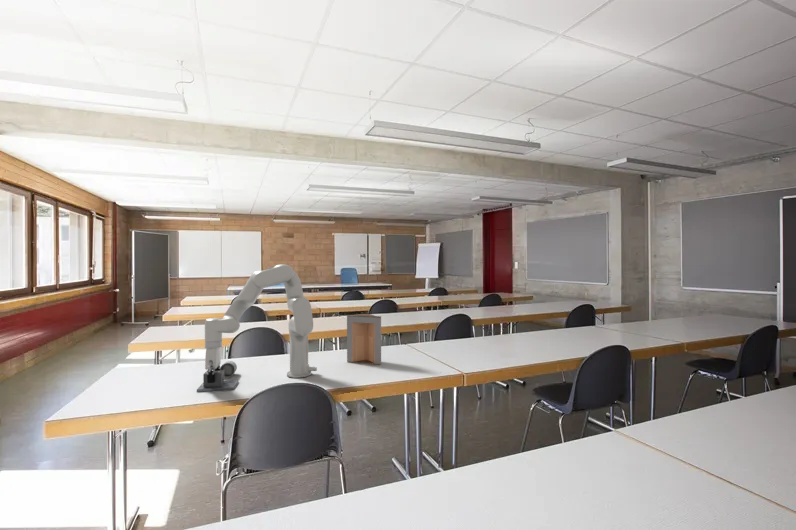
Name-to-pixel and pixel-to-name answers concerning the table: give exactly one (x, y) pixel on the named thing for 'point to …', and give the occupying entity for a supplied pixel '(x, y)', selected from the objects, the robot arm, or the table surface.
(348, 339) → the cabinet
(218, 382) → the dark grey block
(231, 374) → the ceramic mug
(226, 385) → the plate
